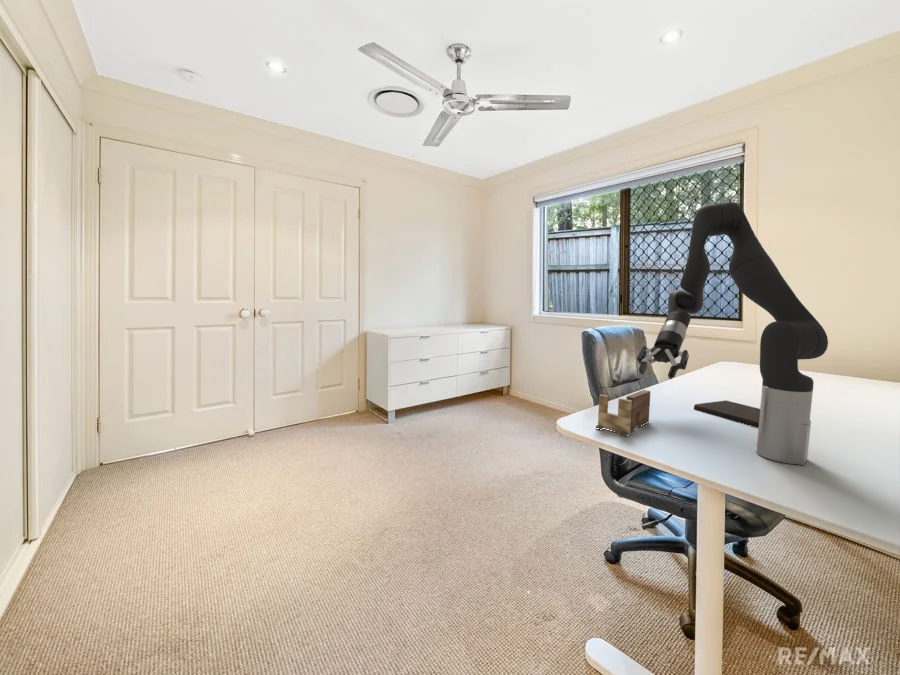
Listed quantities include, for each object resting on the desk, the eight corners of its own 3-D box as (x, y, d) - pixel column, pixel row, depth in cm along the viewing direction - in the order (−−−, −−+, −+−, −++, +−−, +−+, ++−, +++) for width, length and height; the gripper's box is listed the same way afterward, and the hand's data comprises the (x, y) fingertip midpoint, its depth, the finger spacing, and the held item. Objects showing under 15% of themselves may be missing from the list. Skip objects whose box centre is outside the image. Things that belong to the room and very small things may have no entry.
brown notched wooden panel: (648, 422, 121) (650, 391, 120) (631, 431, 113) (633, 397, 112) (642, 421, 123) (643, 389, 122) (624, 429, 115) (626, 396, 114)
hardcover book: (725, 406, 141) (726, 400, 141) (800, 426, 120) (801, 419, 120) (693, 410, 136) (693, 404, 136) (766, 432, 114) (766, 424, 114)
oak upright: (632, 433, 111) (634, 399, 110) (625, 437, 109) (627, 402, 108) (602, 426, 118) (603, 393, 117) (595, 429, 115) (596, 395, 114)
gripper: (645, 328, 134) (629, 365, 128) (692, 331, 123) (677, 371, 117) (651, 342, 138) (635, 378, 132) (697, 346, 127) (682, 386, 121)
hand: (655, 375), depth 124 cm, fingers open, 8 cm apart
